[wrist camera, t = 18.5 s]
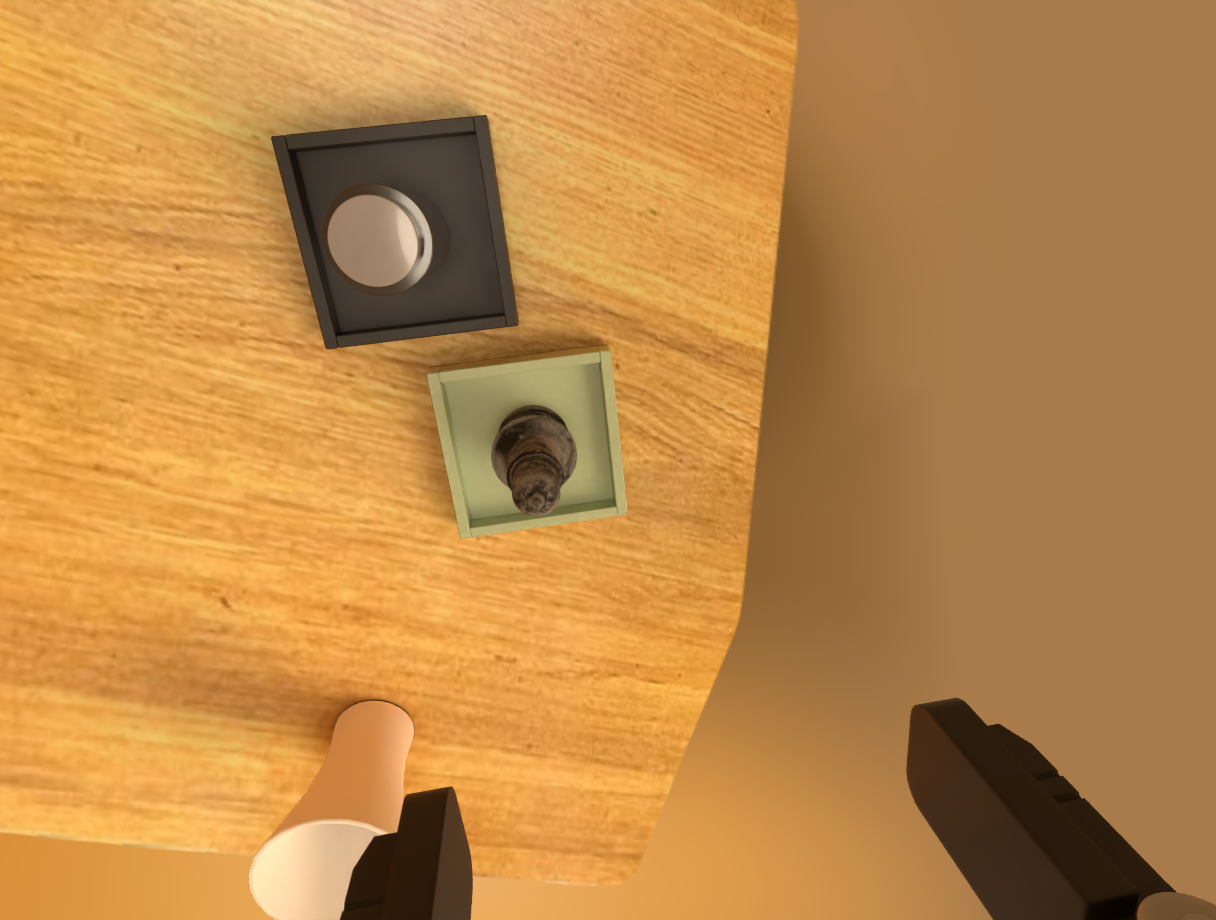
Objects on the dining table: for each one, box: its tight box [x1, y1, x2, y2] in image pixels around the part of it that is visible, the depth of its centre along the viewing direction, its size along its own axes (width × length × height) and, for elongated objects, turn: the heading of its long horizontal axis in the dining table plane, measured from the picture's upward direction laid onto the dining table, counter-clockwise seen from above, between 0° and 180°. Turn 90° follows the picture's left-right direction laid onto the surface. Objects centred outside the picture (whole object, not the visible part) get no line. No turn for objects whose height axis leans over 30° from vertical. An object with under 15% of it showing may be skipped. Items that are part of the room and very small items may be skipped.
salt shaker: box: [491, 405, 577, 516], centre depth 42 cm, size 6×6×12 cm
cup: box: [249, 701, 414, 920], centre depth 50 cm, size 10×10×14 cm
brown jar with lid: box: [322, 183, 451, 296], centre depth 37 cm, size 6×6×10 cm
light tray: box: [426, 345, 628, 539], centre depth 48 cm, size 13×13×2 cm
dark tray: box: [271, 115, 518, 349], centre depth 42 cm, size 13×13×2 cm
